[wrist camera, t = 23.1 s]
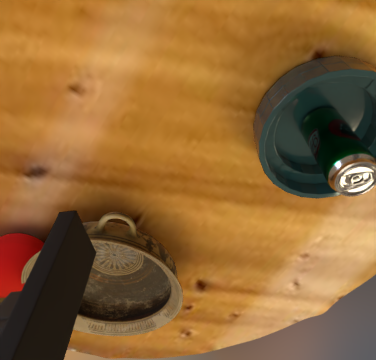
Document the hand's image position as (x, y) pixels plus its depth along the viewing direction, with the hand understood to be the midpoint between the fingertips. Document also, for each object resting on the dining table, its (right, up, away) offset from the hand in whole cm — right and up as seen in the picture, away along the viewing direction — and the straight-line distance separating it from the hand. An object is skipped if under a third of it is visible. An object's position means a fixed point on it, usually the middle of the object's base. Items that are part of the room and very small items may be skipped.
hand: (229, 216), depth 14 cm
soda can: (+15, +9, +28) cm, 33 cm away
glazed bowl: (+15, +9, +29) cm, 34 cm away
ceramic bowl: (-14, -10, +44) cm, 47 cm away
